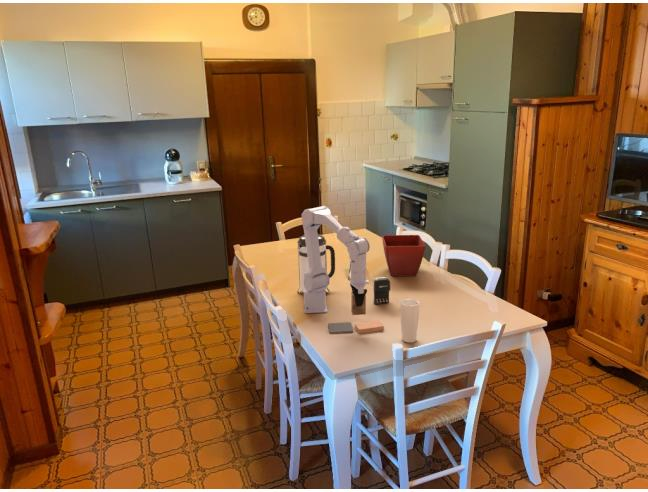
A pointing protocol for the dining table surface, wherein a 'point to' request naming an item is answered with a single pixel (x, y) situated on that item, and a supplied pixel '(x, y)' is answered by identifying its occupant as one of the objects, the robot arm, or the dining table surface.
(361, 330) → the tile
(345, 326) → the mat
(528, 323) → the dining table surface
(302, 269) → the coffee press
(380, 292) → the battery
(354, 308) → the brown rectangular block
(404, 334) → the drinking glass
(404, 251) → the plant pot
